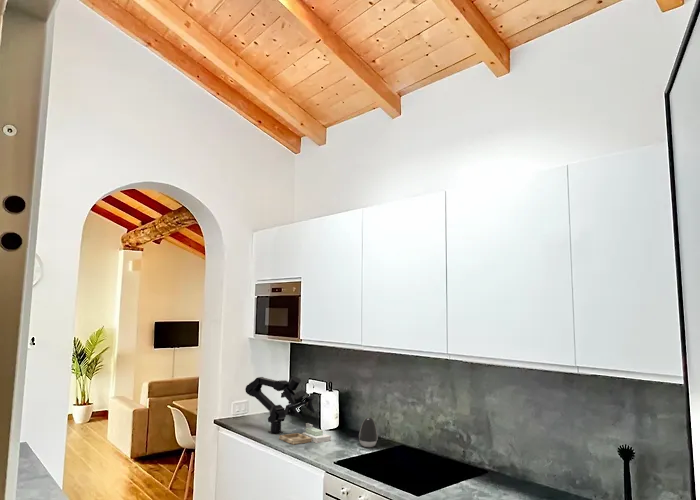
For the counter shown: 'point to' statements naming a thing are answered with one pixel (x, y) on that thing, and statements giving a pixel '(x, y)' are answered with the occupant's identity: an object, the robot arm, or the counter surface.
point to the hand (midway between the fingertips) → (308, 415)
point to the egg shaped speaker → (368, 433)
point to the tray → (295, 438)
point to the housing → (318, 438)
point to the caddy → (313, 430)
